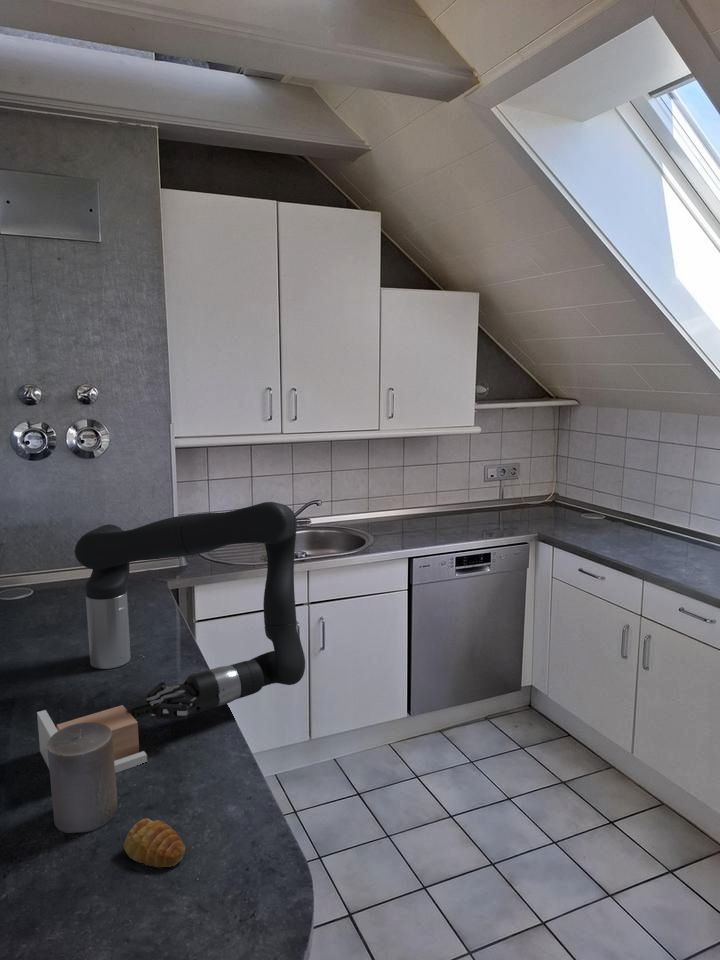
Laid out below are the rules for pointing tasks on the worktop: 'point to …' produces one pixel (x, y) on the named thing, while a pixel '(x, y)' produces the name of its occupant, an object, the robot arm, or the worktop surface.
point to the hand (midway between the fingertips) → (128, 713)
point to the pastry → (154, 844)
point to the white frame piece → (49, 729)
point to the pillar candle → (82, 777)
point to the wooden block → (114, 729)
